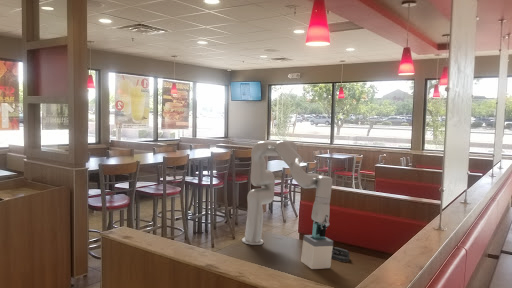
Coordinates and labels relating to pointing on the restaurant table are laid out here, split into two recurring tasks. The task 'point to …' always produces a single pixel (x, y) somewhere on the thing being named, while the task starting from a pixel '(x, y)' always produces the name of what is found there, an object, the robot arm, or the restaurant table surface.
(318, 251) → the white slotted box
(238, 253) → the restaurant table surface
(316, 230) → the teal block
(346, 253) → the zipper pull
